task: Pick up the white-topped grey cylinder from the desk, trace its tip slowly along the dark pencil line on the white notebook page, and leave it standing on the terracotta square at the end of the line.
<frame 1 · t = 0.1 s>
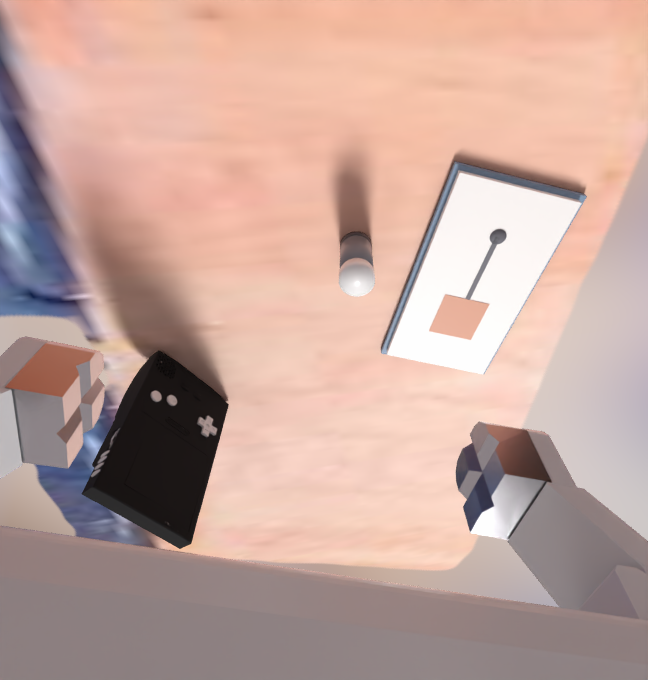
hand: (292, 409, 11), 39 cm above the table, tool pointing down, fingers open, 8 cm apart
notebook: (470, 281, 53), on the table
handheld gaming console: (187, 381, 64), on the table
white-topped grey cylinder: (355, 246, 51), on the table
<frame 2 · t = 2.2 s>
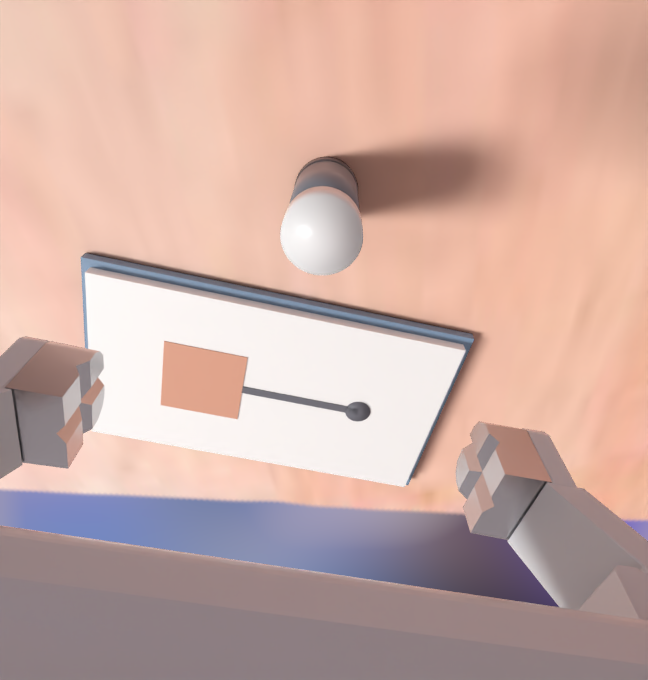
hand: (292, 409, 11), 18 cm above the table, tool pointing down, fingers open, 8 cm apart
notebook: (268, 381, 32), on the table
white-topped grey cylinder: (326, 189, 26), on the table
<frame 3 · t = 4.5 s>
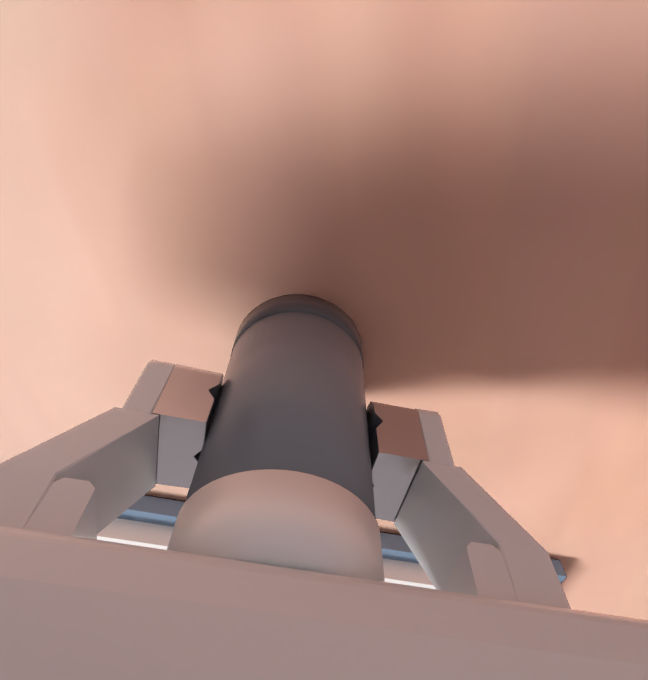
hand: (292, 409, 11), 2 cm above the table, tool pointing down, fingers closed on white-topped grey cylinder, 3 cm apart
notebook: (210, 616, 19), on the table
white-topped grey cylinder: (298, 351, 13), on the table, touching gripper
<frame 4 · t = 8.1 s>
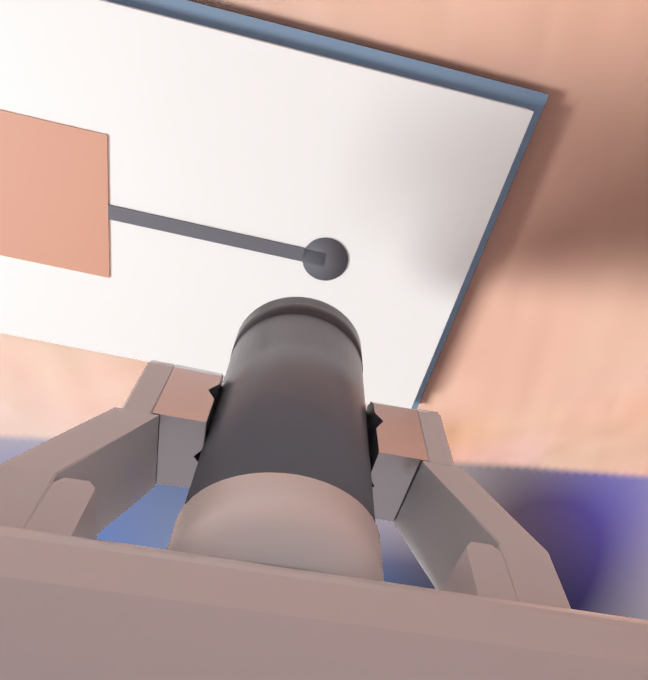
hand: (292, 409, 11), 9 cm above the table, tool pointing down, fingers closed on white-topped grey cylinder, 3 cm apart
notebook: (165, 209, 18), on the table
white-topped grey cylinder: (298, 352, 13), point 7 cm above the table, touching gripper
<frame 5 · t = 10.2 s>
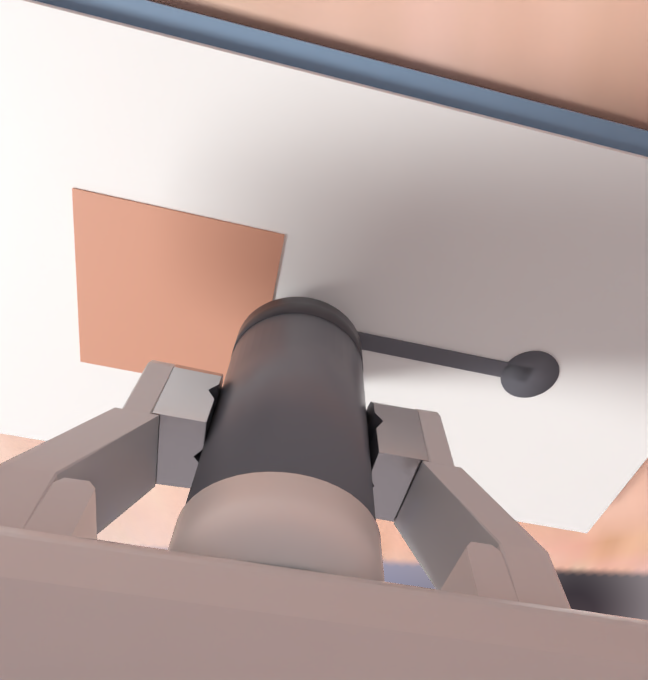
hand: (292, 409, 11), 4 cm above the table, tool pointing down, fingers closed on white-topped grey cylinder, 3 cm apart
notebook: (323, 309, 15), on the table
white-topped grey cylinder: (298, 352, 13), point 2 cm above the table, touching gripper
when the fingers open (4 cm above the table, at t = 11.8 s): white-topped grey cylinder stays where it is, resting on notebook.
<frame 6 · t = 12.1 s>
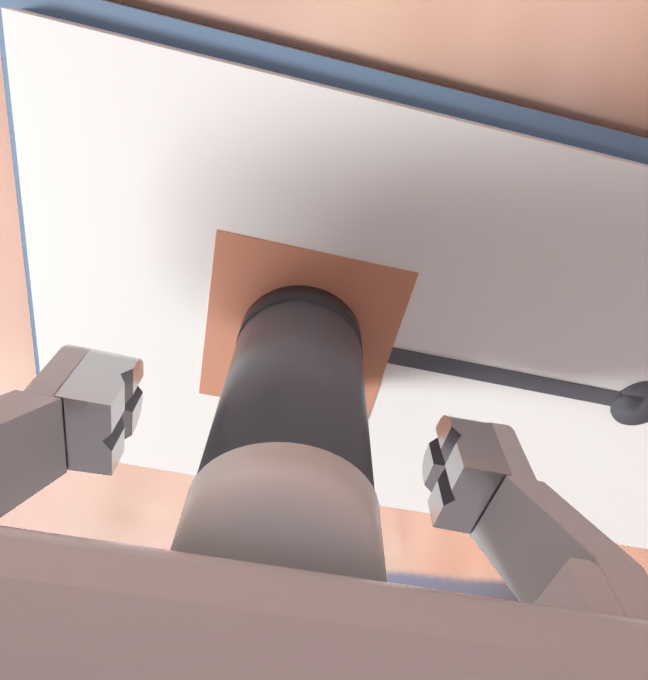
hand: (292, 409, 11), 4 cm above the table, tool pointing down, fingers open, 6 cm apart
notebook: (433, 339, 15), on the table
white-topped grey cylinder: (300, 339, 13), point 1 cm above the table, touching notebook
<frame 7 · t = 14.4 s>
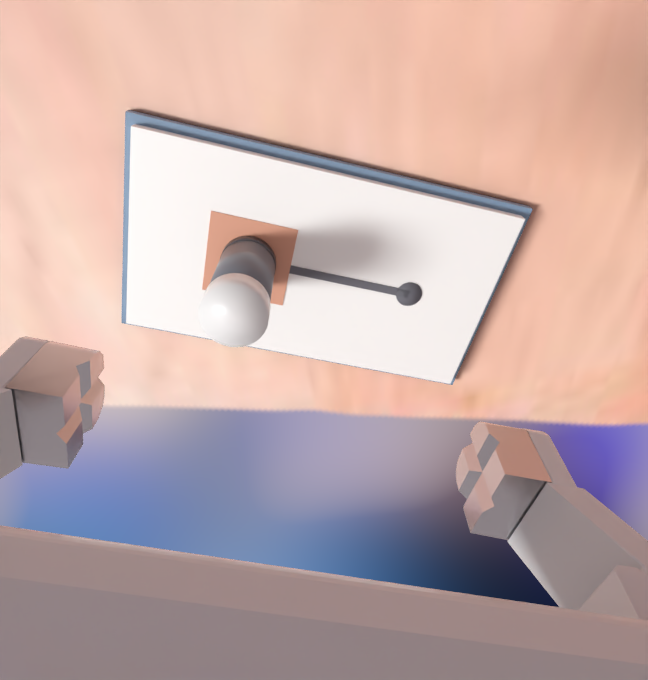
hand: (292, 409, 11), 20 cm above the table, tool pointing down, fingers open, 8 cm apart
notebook: (314, 265, 31), on the table
white-topped grey cylinder: (248, 262, 29), point 1 cm above the table, touching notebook
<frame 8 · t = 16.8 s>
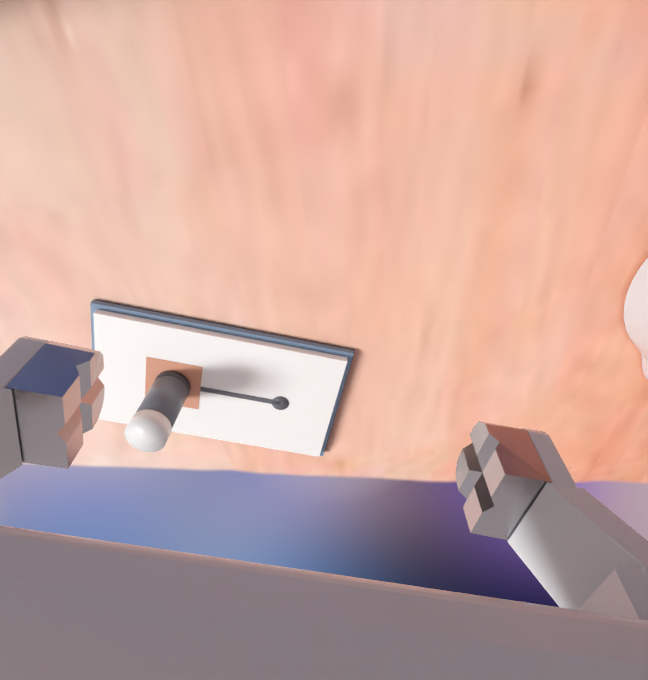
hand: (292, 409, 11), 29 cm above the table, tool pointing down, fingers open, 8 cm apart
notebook: (219, 383, 47), on the table
white-topped grey cylinder: (173, 385, 45), point 1 cm above the table, touching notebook
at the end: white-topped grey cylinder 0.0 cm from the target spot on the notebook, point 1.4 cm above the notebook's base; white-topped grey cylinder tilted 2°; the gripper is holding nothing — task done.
